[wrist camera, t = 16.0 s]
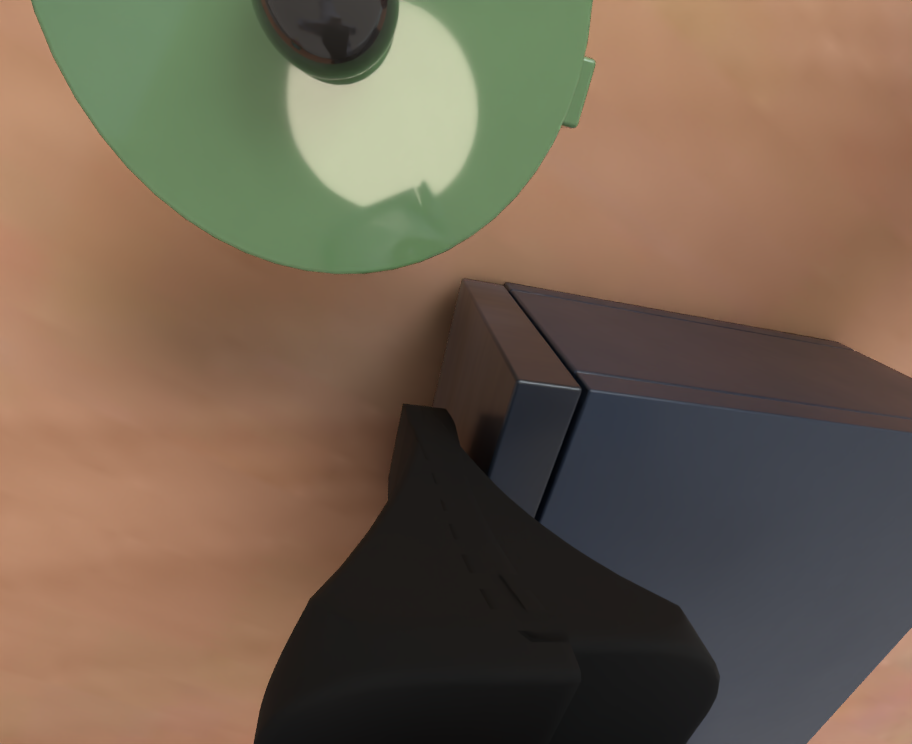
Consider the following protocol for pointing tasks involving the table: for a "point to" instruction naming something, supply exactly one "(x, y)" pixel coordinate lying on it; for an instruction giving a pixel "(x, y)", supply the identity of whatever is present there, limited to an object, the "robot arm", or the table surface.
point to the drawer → (505, 392)
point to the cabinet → (740, 497)
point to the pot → (328, 114)
